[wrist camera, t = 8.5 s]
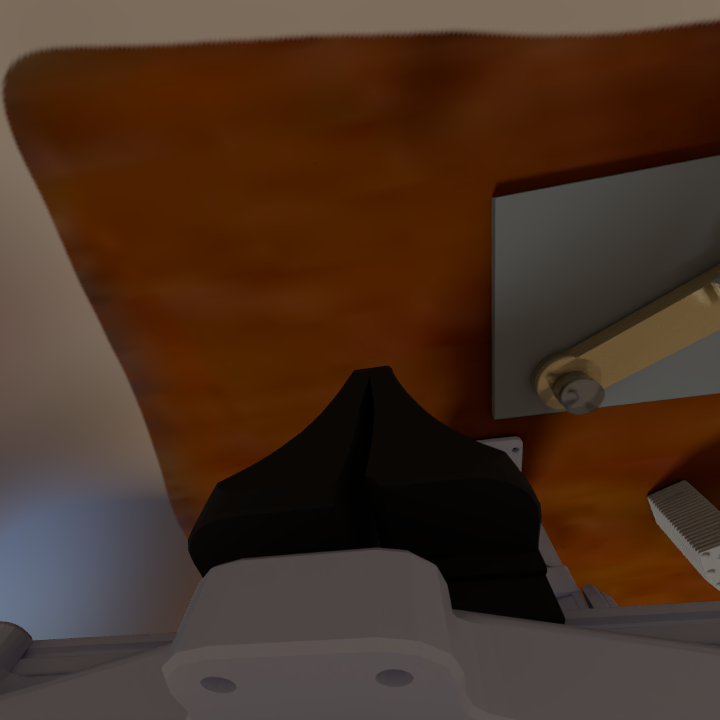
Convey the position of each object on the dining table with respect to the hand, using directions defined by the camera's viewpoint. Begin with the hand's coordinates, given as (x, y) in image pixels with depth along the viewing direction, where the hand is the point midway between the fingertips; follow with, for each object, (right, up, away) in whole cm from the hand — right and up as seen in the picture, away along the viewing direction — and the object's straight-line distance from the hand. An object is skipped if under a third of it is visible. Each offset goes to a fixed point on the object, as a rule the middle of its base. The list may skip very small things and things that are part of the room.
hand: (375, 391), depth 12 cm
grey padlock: (+26, -11, +15) cm, 32 cm away
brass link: (+15, +2, +8) cm, 17 cm away
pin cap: (+12, -1, +8) cm, 14 cm away
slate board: (+15, +5, +8) cm, 18 cm away
